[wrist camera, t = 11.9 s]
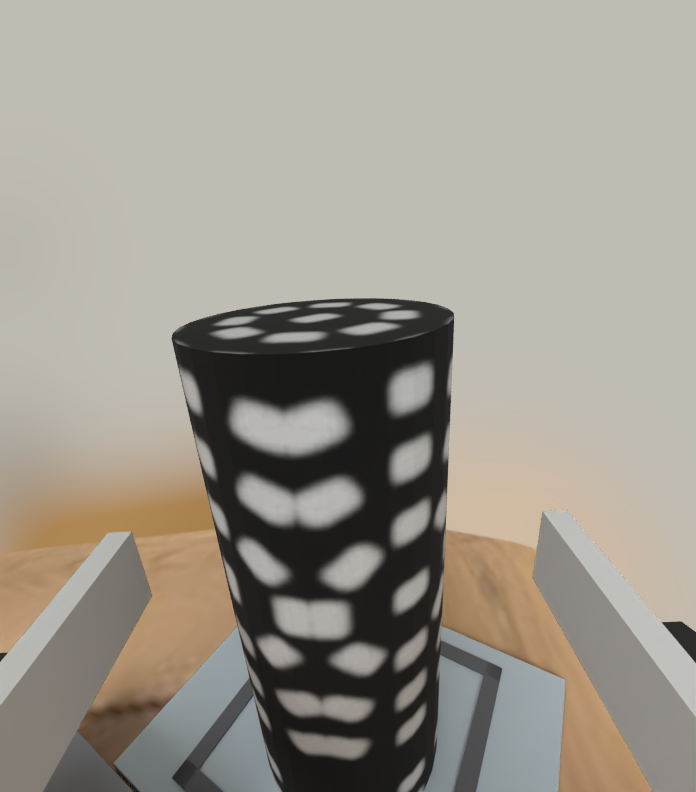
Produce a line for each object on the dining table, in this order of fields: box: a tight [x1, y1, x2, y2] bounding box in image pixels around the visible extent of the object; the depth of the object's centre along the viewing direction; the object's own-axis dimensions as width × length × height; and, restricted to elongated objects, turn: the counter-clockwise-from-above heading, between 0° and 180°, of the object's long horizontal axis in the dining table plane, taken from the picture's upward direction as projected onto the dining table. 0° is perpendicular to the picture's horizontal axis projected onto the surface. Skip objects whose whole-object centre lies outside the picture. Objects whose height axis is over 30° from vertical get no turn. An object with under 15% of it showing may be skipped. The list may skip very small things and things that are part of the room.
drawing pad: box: [114, 626, 566, 792], centre depth 19 cm, size 18×14×1 cm
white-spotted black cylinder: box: [172, 298, 454, 792], centre depth 16 cm, size 8×8×20 cm
